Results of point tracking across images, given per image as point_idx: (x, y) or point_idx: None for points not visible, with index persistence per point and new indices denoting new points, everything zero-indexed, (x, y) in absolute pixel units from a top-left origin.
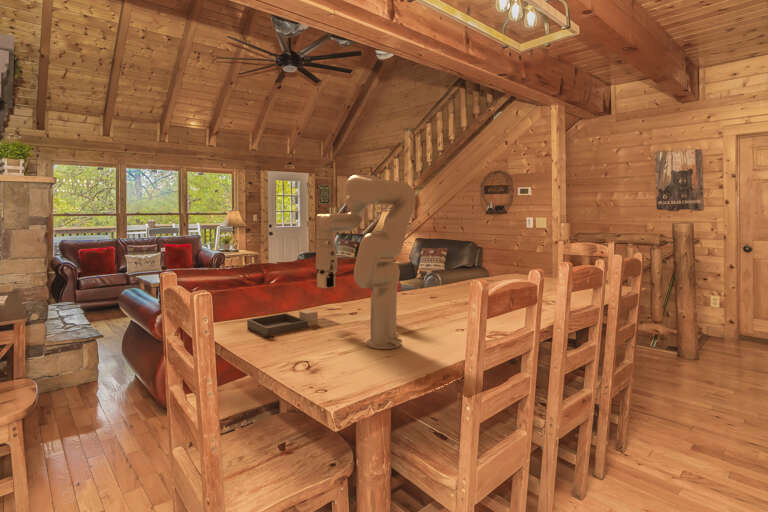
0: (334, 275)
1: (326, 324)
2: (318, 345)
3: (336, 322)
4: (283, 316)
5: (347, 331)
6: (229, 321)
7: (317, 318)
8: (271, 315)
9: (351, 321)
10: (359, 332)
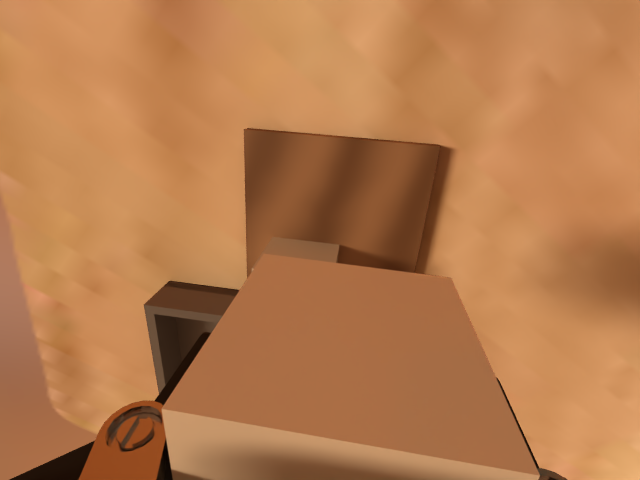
0: (517, 452)
1: (376, 216)
2: (564, 402)
3: (385, 146)
4: (162, 315)
5: (538, 194)
6: (54, 395)
7: (336, 258)
8: (155, 368)
9: (396, 6)
10: (618, 161)
